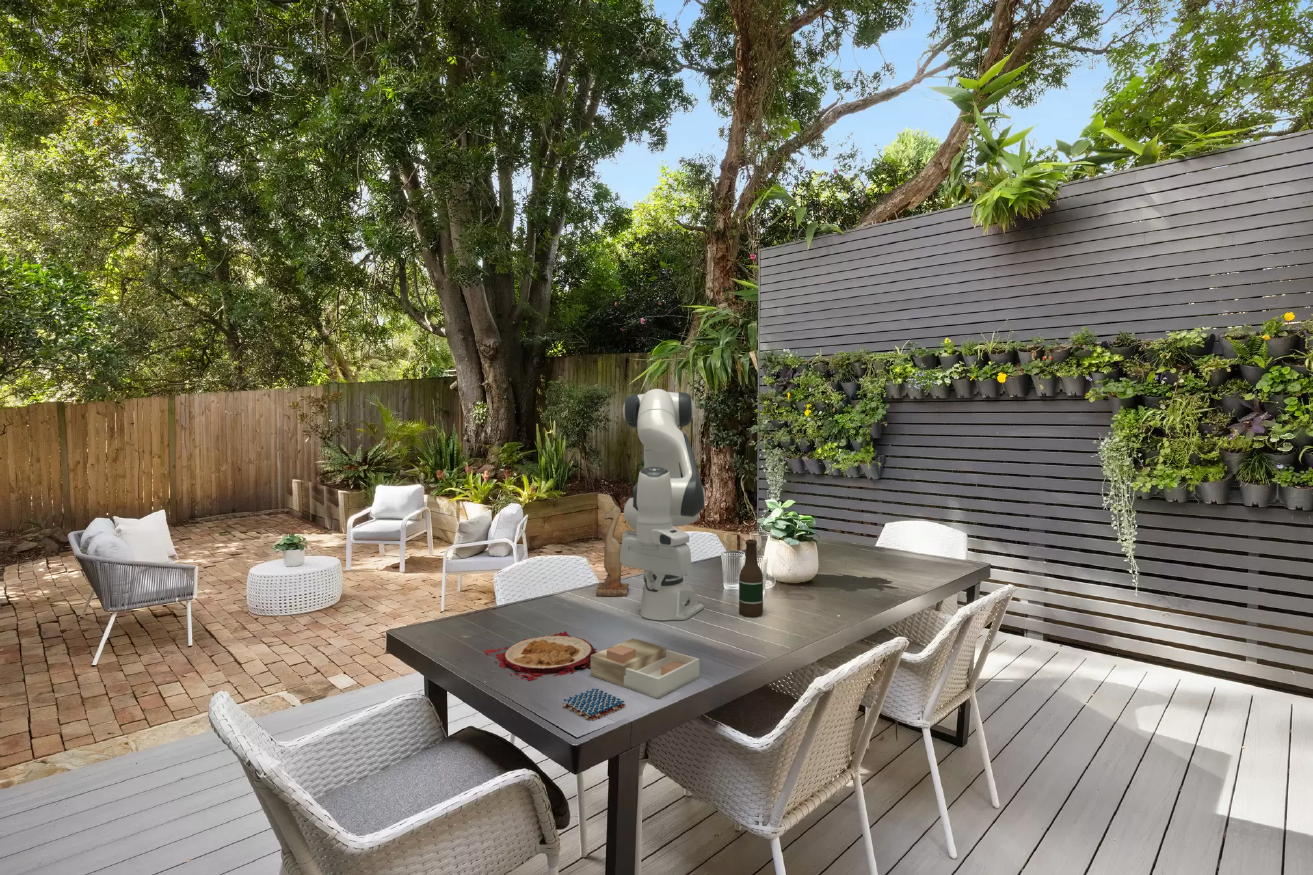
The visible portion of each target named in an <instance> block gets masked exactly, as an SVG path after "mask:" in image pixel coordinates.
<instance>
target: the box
mask: <svg viewBox="0 0 1313 875" xmlns="http://www.w3.org/2000/svg"><path fill="white" fill-rule="evenodd" d="M672 661H675V662H678V663H682V664H685V665H683V666H681V667H679V668H677V669H675V670H673V671H671V672H669V673H667V674H665V675H663V676H662V675H661V667H662V666H664V665H666V664H668V663H670V662H672ZM698 678H700V658H697V657H695V656H690V655H686V654H683V653H680V652H676V651H674V650H669V649H666V657H665V658H663V659H660V660H658V661H656V662H654V663H652V664H650V665H647V666H645V667H643V668H641V669H639V670H637V671H636V670H632V669H629V668H626V676H624V688H626V689H629V690H632V691H635V692H637V693H641V694H643V695H647V696H649V697H652V698H655V699H657V700H658V699H661V698H663V697H664V696H667V695H669V694H671V693H672V692H674V691H676V690H678V689H680V688H681V687H684V686H685V685H687V684H689V683H690V682H693V681H695V680H697V679H698Z"/></svg>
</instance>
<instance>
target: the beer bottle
mask: <svg viewBox="0 0 1313 875" xmlns="http://www.w3.org/2000/svg"><path fill="white" fill-rule="evenodd" d="M744 543H745V545H746V546H745V557H744V558H745V561H744V566H743V567H742V568H741V570H740V573H739V576H738V578H739V579H738V588H739V589H738V613H739V615H740V616H742V617H745V618H759V617H761V616H762V615H763V612H764V574H763V572H762V569H761V568H760V566H759V563H758V557H757V556H758V553H757V544H758V541H757V540H756V539H753V538H751V539H747V540H745V542H744Z"/></svg>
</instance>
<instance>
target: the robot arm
mask: <svg viewBox="0 0 1313 875" xmlns="http://www.w3.org/2000/svg"><path fill="white" fill-rule="evenodd" d="M695 410H696V406H695V402H694V399H692V396H691V394H690V393H687V392H682V391H679V392H674V391H673V392H671V391H666V390H665V389H661V388H653V389H649V390H648V391H646V392H645V393H641V394H638V393H635V394H631V395H629V396H627V397H626V398H625V399H624V403H623V405H622V415H623V419H624V421H625V424H626V425H627V426H629V427H630V428H633V429H637V436H638V439H639V441H640V442H641V443H642V445H643V466H644V467H643V468H642V469H640V471H639V472H638V473H639V474H638V479H637V483H636V484H634V485H633V487H632V497H629V498H628V499H627V501H626V502H625V505H624V509H623V515H624V519H625V522H626V524H627V525H628V526H629V527H630V528H631V529H627V530H625V531H623V533H622V536H621V538H622V539H621V544H620V546H621V552H620V562H621V564H622V565H621V567H622V566H623V567H626V568H632V569H638V570H643V581H644V584H643V586H642V592H641V593H642V594H641V605H639V607H638V608H639V609H638V610H639V611H640V617H643V618H645V619H648V620H652V621H685V620H688V619H690V618H691V617H693V616H694V615H696V614H697V613H699V612H701V611H702V610H704V608H705V606H704V604H702V603H700V602H697V593H696V590H695V588H692V587H691V586H690V585H689V584H688V583H686V581H685V580H684V577H687V576H688V575H689V574H690V573H691V571H692V553H691V548H690V546H689V545H688V544H687V543H689V542H690V535H689V534H688V532H685V531H683V530H681V529H679V527H684V526H687V525H690V524H693V523H695V522H697V520H698V518H699V517H700V513H701V511H703V509H704V508H705V503H706V492H705V488H704V486H703V484H702V480H701V478H700V475H699V471H698V467H697V463H696V460H695V455H694V451H693V448H692V445H691V444H692V443H691V442H690V440H689V437H688V435H687V434H686V433H685V432H683V431H682V430H683V428H685V427H686V426H689V425H690V424H691V423H692V421H693V418H694V416H695V412H696V411H695ZM681 474H682V476H681ZM632 529H633V530H632Z"/></svg>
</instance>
